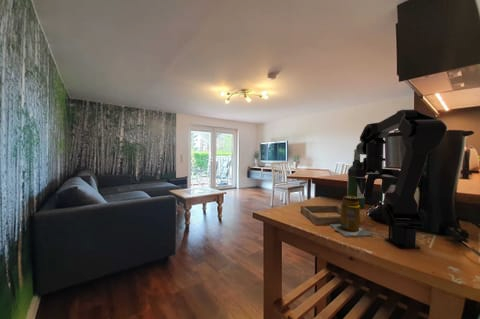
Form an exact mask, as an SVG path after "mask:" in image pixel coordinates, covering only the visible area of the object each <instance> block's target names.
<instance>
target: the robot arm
mask: <svg viewBox="0 0 480 319" xmlns="http://www.w3.org/2000/svg"><path fill="white" fill-rule="evenodd" d="M395 130H398V131H399V132H400V133H401V134H402V138H401V141H402V143H403V144H404V147H405V153H404V155H403V156H404V157H403V160H402V164H401V167H400V169H398V168H388V167H387V168H383V167H384V166H383V165H384V162H386V161H387V159H386V158H385V157H384V146H385V145H386V144H387V141H386V140H385V138H386V137H388V136H389V135H390V132H393V131H395ZM446 134H447V126H446V124H444V122H443V121H442V120H440V119H437V118H436V117H435V116H432V115H430V114H429V115H428V114H425V113H423V112H421V111H420V110H418V109H400V110H397V111H396V112H395V113H394V114H392V115H391V116H388V117H387V118H384V119H383V120H381V121H378V122H372V123H368V124H366V125H365V126H364V128H363V130H362V132H361V134H360V136H359V143H358V144H357V145H356V147H355V149H356V150H357V152H358V153H359V154H360V155H362V156H364V155H365V157H363V159H362V161H360V162H359V161H354V160H353V161H352V164H351V166H353V168H354V169H349V168H348V169H349V171H348V170H347V176H348V175H349V176H351V177H352V178H354V179H355V180H356V182H357V184H358V187H359V190H360V192H361V194H364V191H365V192H366V184H367V180H368V179H367V176H379V177H380V179H381V193H382V194H384V199H383V201H382V203H383V204H382V206H381V210H382V211H381V212H382V219H383V222H384V224H385V225H387V226H388V236H387V237H384V240H385V241H386V242H388V243H390V244H392V245H393V246H395V247H397V248H399V249H401V250H409V249H421V246H420V245H418V244H416V239H417V229H423V228H424V226H425V222H424V219H423V217H422V216H421V214H420V212H419V211H418V208H419V204H418V202H417V200H416V198H415V195H416V192H417V188H418V186H419V184H420V180H421V177H422V174H423V171H424V169H425V165H426V162H427V160H428V155H429V154H430V153H431V152H432V151H433V150H434V149H435V148H437V147H438V146H439V145H440V144H441V142H442V141H443V138H444V137H445V135H446ZM364 177H365V178H364ZM396 180H397V181H396ZM395 181H396V185H395V187H394V190H393V191H392V192H390V191H389V192H387V191H388V190H389V189H390V187H391V186H392V185H393V183H395Z"/></svg>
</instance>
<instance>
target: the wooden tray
mask: <svg viewBox="0 0 480 319" xmlns="http://www.w3.org/2000/svg"><path fill="white" fill-rule="evenodd" d="M300 213H301V214H302V215H303V216H305V217H306V218H307V219H308V220H309V221H311V223H313V224H314V225H315V226H330V224H341V206H340V205H337V204H333V205H328V204H327V205H301V206H300ZM315 213H316V214H317V213H318V214H319V213H322V214H323V213H336V214H339V215H340V216H339V215H337V216H334V215H333V216H317V215H316V214H315ZM359 225H361V218H360V219H359Z"/></svg>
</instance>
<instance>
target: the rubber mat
mask: <svg viewBox="0 0 480 319" xmlns="http://www.w3.org/2000/svg"><path fill="white" fill-rule="evenodd" d="M339 225H340V224H330V225H329V226H330V227H331V228H332V229H333V230H334V231H336V232H337V233H339V234H340V235H341V236H342V237H344V238H355V237H356V238H359V237H360V238H361V237H364V238H365V237H373V236H374V235H373V233H371V232H370V231H367V230H366V229H364V228H363V229H362V230H361V231H360V232H359V233H358V234H357V235H352V234H348V233H345V232H341V231H338V230H336V229H334V228H336V227H337V226H339ZM359 228H362V227H361V226H359Z"/></svg>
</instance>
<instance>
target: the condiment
mask: <svg viewBox="0 0 480 319" xmlns="http://www.w3.org/2000/svg"><path fill="white" fill-rule="evenodd" d="M340 207H341V215H340V216H341V224H340V225H339V226H337V227H336V228H334V229H333V230H335V229H336V230H338V231H341V232H345V233H348V234H352V235H357V234H358V233H359V232H360V231H361V230H362V229H364V228H362V227H361V228H359V227H360V224H359V219H360V220H361V215H360V212H361V211H360V210H361V209H360V206H359V198H358V197H355V196H347V195H344V196H342V203H341V206H340ZM336 230H335V231H336Z"/></svg>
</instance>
